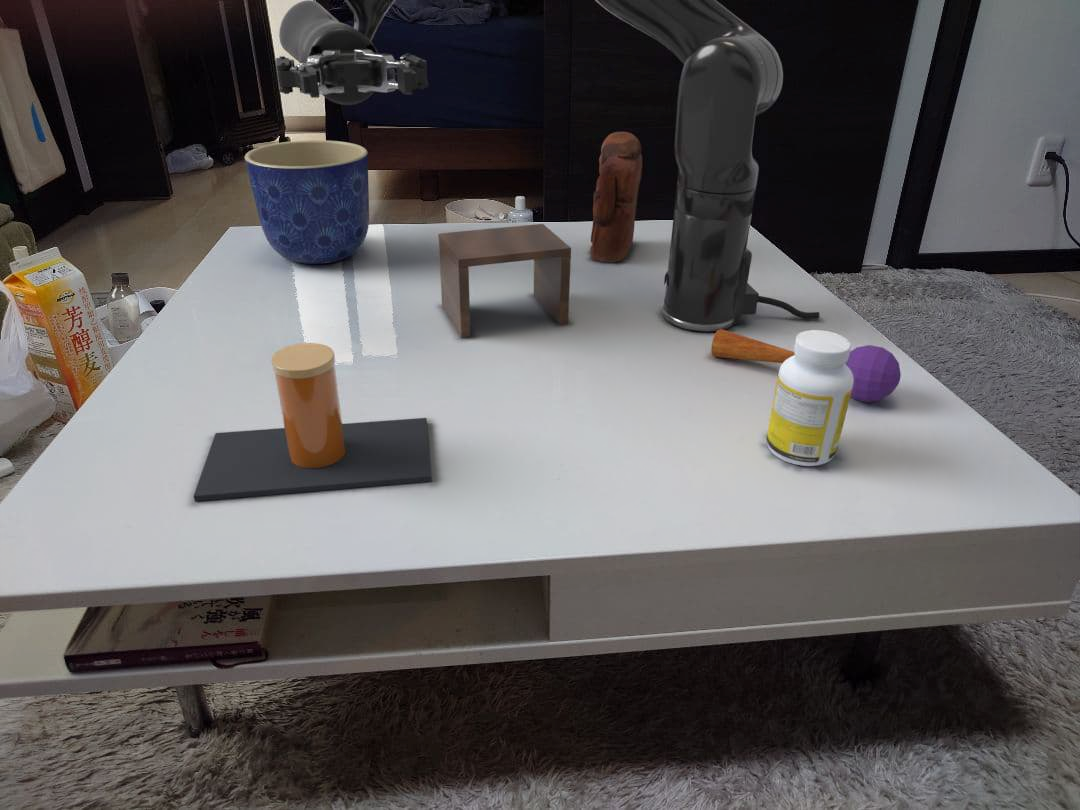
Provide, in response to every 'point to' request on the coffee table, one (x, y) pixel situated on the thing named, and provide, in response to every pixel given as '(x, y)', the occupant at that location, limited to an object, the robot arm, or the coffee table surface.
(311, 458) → the jar
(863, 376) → the purple and wooden maraca
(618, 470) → the coffee table surface
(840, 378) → the pill bottle
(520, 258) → the shelf
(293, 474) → the mat
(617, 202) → the wooden figurine
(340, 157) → the planter
